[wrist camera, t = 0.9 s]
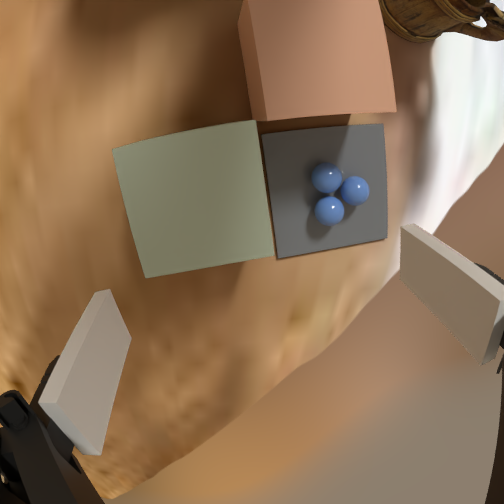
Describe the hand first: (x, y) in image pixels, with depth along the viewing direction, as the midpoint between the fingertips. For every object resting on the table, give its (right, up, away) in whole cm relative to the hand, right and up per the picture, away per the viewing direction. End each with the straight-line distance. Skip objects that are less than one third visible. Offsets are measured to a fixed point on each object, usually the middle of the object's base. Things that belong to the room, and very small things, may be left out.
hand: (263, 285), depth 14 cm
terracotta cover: (+4, +19, +14) cm, 24 cm away
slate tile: (+8, +8, +19) cm, 22 cm away
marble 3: (+10, +8, +19) cm, 23 cm away
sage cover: (-6, +8, +17) cm, 20 cm away
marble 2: (+7, +6, +19) cm, 21 cm away
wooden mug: (+19, +28, +12) cm, 36 cm away
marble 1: (+7, +9, +18) cm, 21 cm away
